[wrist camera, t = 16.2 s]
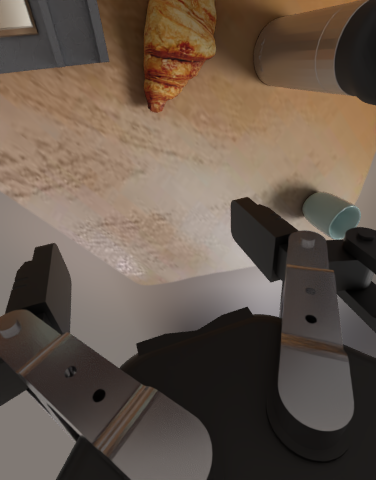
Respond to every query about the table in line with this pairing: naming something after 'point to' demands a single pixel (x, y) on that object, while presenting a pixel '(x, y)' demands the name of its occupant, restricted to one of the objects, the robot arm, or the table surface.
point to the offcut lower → (23, 30)
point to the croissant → (175, 46)
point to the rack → (57, 37)
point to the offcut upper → (14, 15)
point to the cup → (331, 214)
